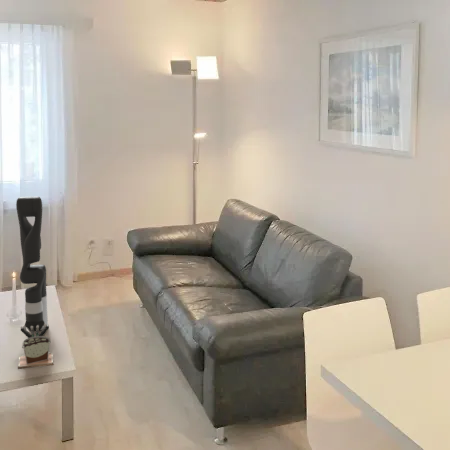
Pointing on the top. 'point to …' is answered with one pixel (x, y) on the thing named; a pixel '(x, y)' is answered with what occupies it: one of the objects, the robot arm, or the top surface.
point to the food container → (36, 349)
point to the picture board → (23, 363)
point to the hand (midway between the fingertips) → (35, 345)
